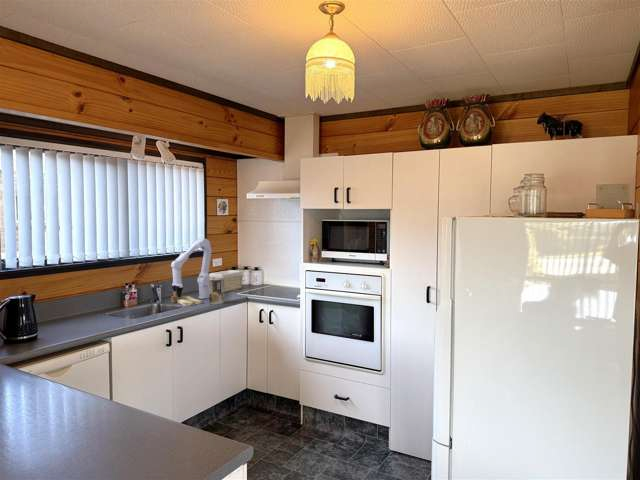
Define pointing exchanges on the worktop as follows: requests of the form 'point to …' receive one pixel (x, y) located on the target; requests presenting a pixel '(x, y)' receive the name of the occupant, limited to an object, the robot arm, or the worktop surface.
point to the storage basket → (229, 279)
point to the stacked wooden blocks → (176, 297)
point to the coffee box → (216, 291)
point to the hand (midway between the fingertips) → (178, 296)
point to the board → (189, 301)
